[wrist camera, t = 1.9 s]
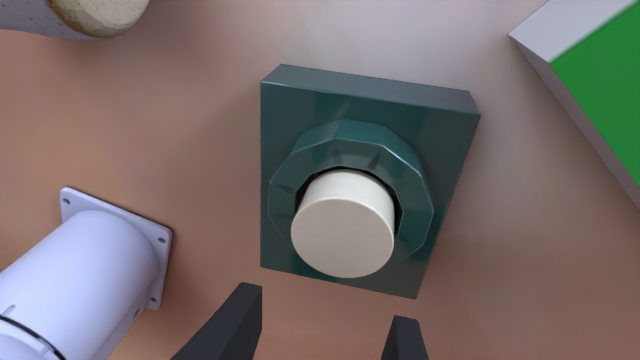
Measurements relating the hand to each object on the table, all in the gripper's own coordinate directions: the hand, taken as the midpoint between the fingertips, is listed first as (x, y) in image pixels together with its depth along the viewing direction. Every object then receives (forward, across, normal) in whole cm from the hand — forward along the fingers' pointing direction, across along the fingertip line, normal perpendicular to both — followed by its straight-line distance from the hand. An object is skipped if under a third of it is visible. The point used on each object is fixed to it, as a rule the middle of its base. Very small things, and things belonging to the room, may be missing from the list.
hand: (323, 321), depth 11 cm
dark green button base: (+10, 0, +1) cm, 10 cm away
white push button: (+6, 0, 0) cm, 6 cm away
